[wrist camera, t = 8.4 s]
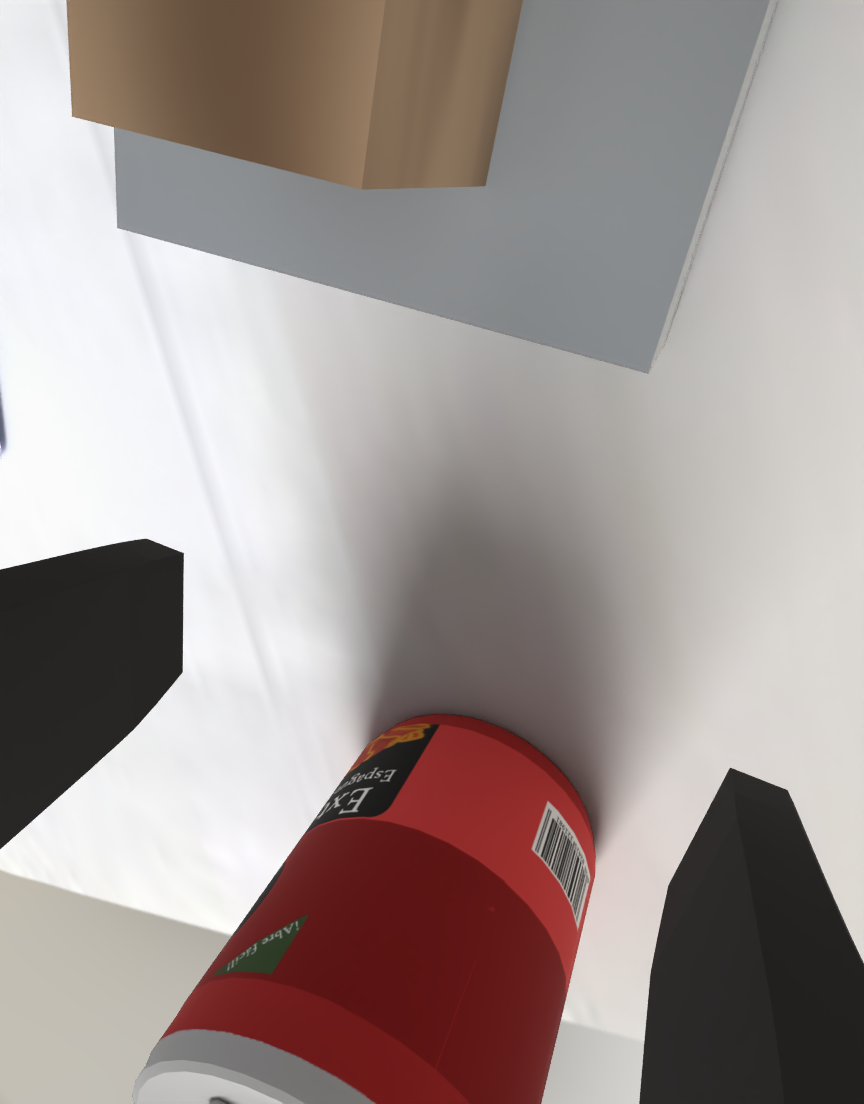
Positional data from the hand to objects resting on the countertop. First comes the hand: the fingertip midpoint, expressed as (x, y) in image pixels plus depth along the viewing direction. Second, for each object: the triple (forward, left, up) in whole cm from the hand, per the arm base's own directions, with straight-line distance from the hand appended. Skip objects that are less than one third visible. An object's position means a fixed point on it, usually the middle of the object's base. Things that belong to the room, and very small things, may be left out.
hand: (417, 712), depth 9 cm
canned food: (0, -12, -10) cm, 16 cm away
